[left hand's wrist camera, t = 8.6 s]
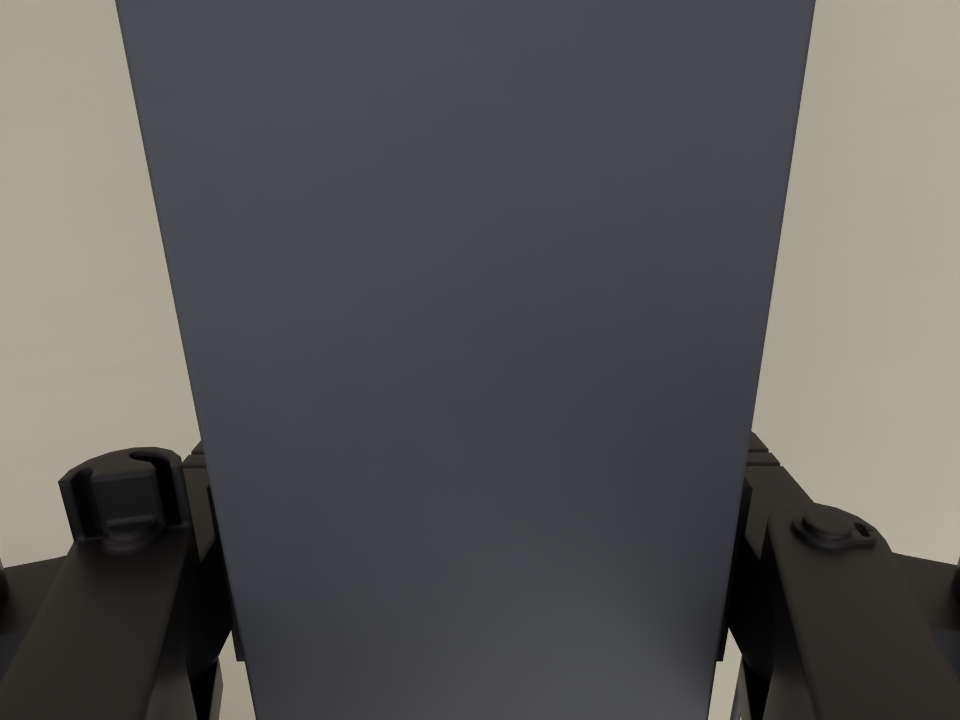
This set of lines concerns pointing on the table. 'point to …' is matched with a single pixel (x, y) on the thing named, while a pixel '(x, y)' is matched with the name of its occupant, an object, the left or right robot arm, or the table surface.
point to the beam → (473, 334)
